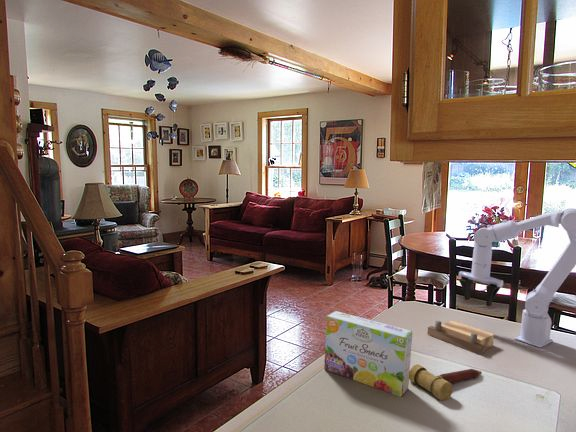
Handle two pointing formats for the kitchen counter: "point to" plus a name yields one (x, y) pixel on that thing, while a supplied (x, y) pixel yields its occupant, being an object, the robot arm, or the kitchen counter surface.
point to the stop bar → (456, 339)
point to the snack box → (368, 352)
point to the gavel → (440, 380)
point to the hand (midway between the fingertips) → (477, 302)
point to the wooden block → (469, 332)
